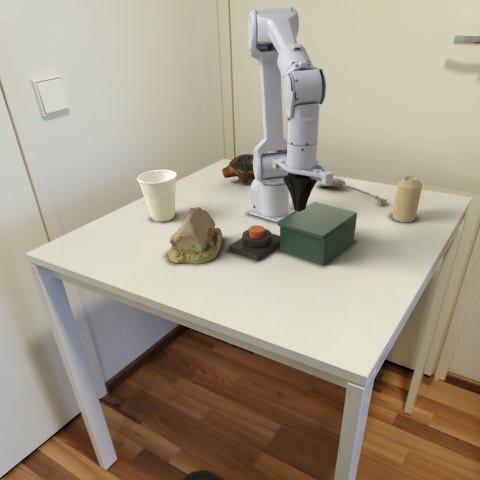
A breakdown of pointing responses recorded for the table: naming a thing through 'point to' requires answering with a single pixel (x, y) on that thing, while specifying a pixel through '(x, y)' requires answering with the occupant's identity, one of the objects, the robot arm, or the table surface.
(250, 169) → the decorative turtle
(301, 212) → the lid
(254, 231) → the button
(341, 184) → the soupspoon
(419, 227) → the table surface
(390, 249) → the table surface
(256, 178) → the robot arm
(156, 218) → the cup
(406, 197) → the candle
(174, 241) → the ceramic model
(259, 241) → the switch block
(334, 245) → the box
